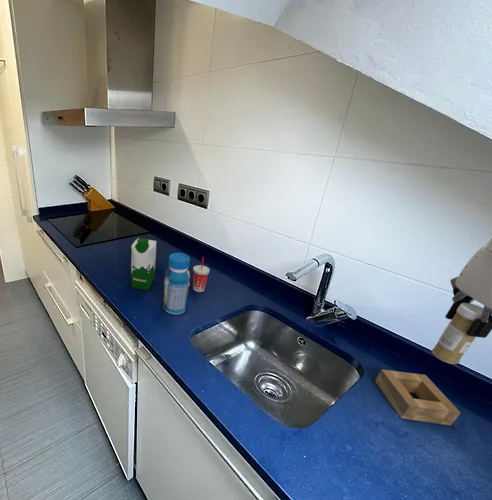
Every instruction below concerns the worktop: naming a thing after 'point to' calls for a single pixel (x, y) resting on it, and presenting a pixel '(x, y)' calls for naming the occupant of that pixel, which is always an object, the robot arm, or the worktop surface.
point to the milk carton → (143, 263)
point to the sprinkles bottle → (457, 334)
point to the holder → (430, 397)
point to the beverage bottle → (176, 283)
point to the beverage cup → (200, 277)
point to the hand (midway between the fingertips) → (464, 326)
